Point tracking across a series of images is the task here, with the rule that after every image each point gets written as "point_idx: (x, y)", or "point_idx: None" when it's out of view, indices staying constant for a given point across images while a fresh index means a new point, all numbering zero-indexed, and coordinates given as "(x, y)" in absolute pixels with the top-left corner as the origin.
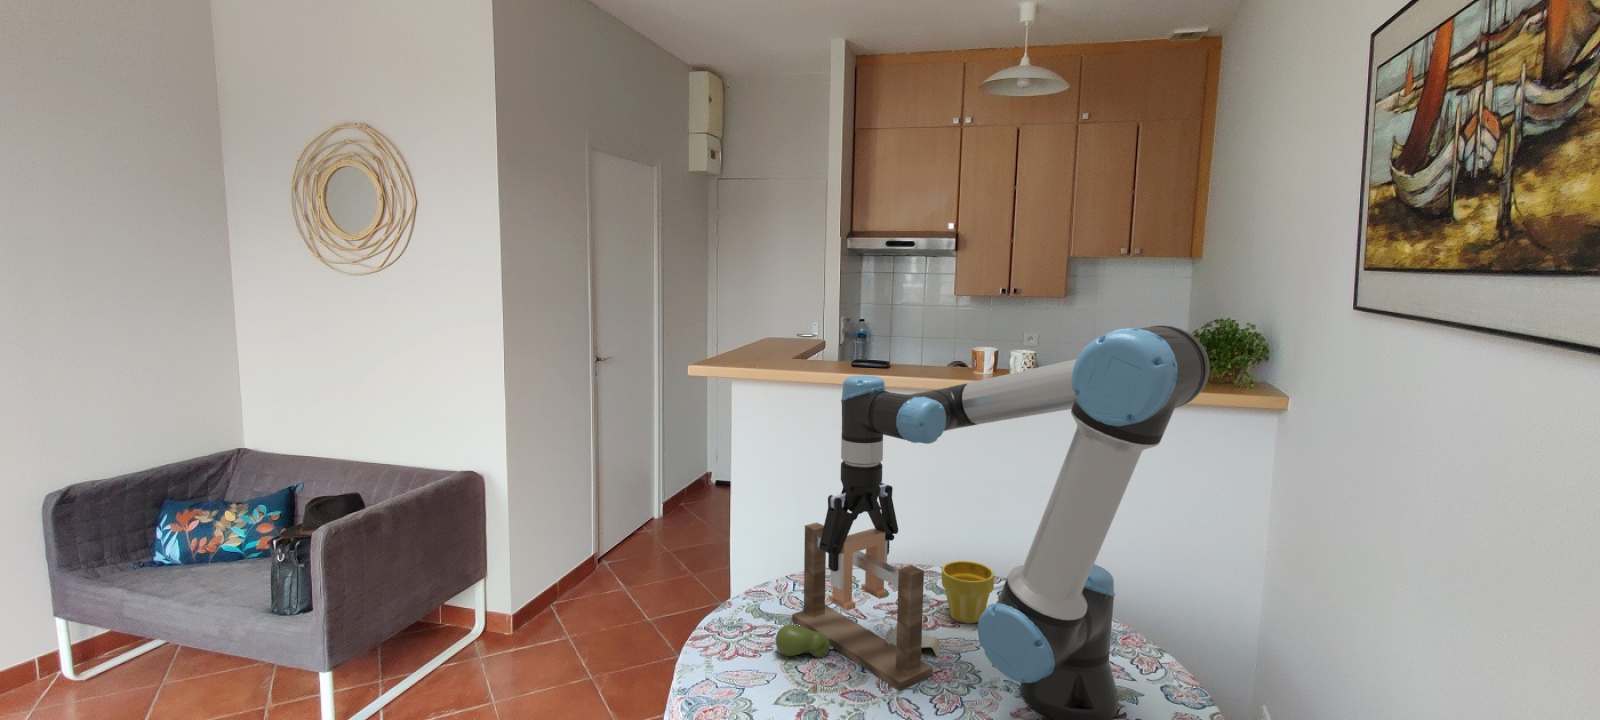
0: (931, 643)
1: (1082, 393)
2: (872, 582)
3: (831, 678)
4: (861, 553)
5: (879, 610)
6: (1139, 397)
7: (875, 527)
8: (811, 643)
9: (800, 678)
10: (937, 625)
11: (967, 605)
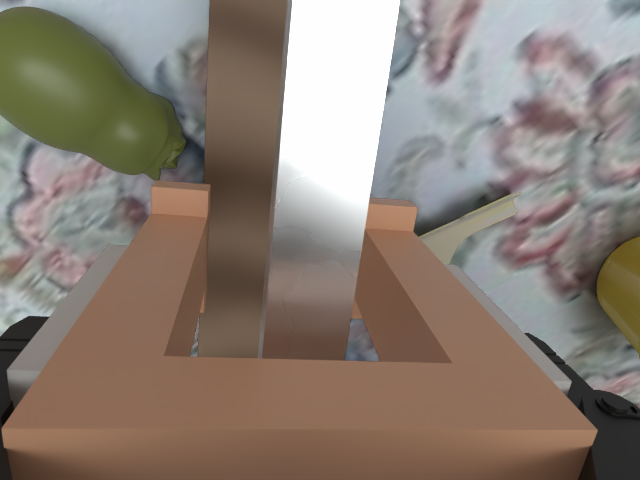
0: None
1: None
2: (365, 290)
3: (88, 263)
4: None
5: (517, 73)
6: None
7: (589, 469)
8: (87, 154)
9: (3, 207)
10: (541, 260)
11: (629, 341)
